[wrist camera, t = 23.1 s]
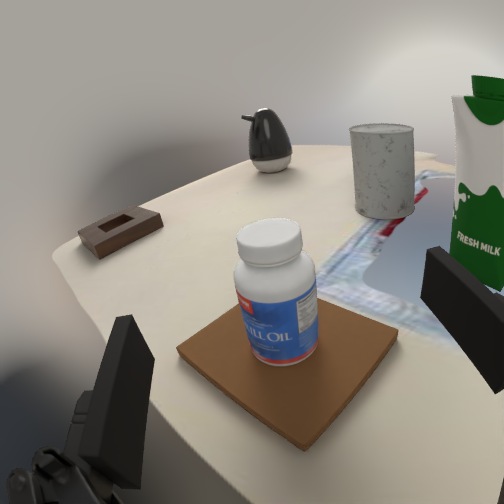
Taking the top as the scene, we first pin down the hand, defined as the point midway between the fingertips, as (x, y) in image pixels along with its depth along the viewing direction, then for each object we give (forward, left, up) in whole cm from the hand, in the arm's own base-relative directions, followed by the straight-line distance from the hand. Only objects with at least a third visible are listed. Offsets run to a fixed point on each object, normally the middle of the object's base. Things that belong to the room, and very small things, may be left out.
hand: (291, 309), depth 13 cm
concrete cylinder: (+28, +24, -11) cm, 39 cm away
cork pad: (+2, +7, -10) cm, 13 cm away
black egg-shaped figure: (+25, +59, -11) cm, 65 cm away
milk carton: (+26, +4, -11) cm, 28 cm away
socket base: (-12, +47, -10) cm, 50 cm away
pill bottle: (+2, +7, -10) cm, 12 cm away
